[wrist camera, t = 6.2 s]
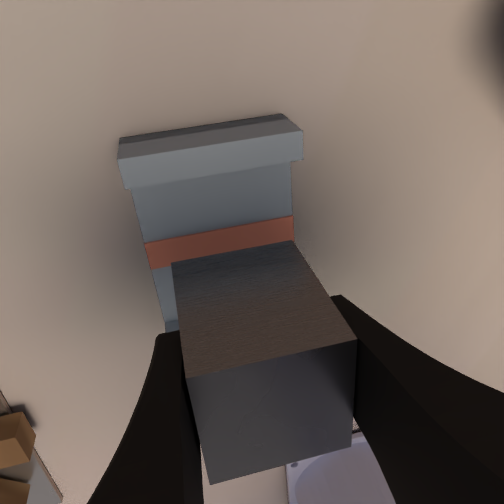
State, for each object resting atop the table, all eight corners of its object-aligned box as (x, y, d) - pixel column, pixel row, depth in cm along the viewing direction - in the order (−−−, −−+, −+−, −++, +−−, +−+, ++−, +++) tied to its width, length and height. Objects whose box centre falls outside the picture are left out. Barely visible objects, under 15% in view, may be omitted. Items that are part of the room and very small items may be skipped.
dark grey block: (295, 331, 16) (351, 446, 12) (190, 355, 16) (209, 484, 11) (291, 239, 14) (357, 338, 10) (170, 262, 14) (185, 378, 9)
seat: (291, 301, 21) (307, 334, 19) (168, 328, 20) (171, 365, 18) (282, 113, 16) (302, 130, 14) (119, 137, 15) (117, 159, 13)
